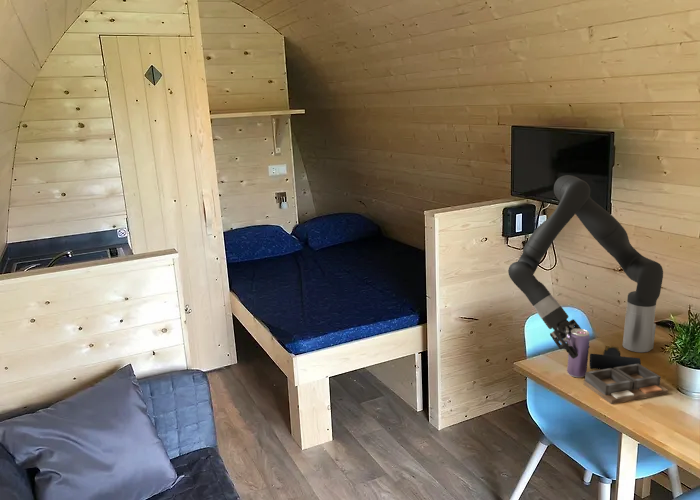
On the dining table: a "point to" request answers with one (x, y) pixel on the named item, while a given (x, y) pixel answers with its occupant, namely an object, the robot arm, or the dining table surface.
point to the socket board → (624, 383)
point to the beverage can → (581, 346)
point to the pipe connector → (611, 359)
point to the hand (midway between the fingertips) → (581, 353)
